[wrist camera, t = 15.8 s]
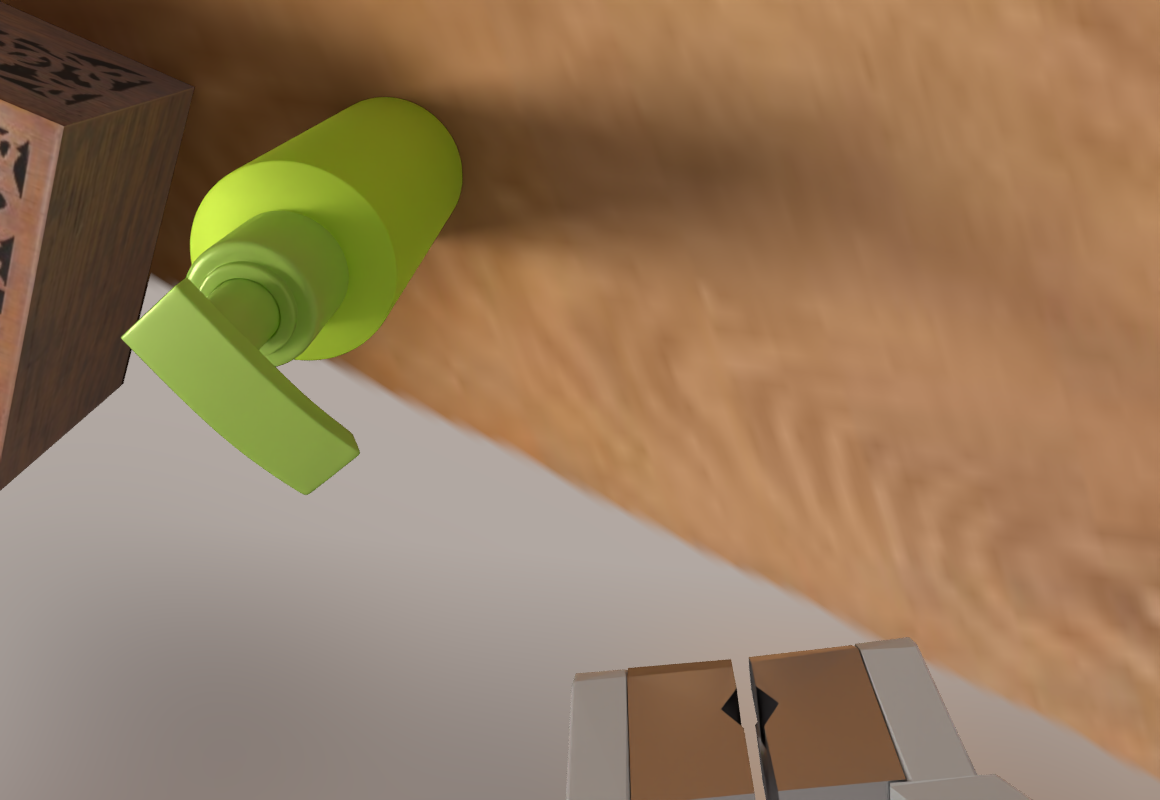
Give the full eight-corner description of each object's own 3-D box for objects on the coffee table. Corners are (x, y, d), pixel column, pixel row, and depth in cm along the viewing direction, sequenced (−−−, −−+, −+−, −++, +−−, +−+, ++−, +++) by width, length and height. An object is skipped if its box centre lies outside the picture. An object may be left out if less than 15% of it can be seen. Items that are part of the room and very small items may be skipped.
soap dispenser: (408, 286, 40) (242, 553, 22) (291, 161, 38) (-1, 342, 20) (508, 200, 38) (420, 413, 20) (392, 65, 36) (174, 166, 18)
